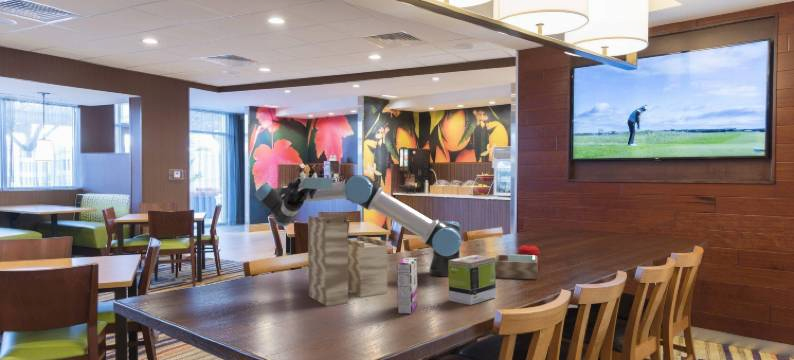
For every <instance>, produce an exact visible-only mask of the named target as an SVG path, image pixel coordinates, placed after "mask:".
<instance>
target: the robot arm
mask: <svg viewBox="0 0 794 360" xmlns="http://www.w3.org/2000/svg"><path fill="white" fill-rule="evenodd" d="M299 177H300V178H299V179H297V180H296V181H294V182H291V181H290V182H289V183H288V184H287V186H285V187H275V188H273V187H272V186H271V185H270V184H269V183H264V184H262V185H261V186H260V187H259V188H258V189H257V190H256V191H255V194H254V195H255V198H256V199H257V200H258V201H259V202H260V203H262V204H263V205H264V207H265V208H267V210H268V211H269V212H270V213H272V215H273V220H274V222H275V223H276V225H277V226H280V227H287V226H289V225H290V224H291V223H292V222H293V221H294V219H295V217H296V215H297V214H298V212H299V210H300V209H301V208H302V207H303V205H304V203H309V202H311V203H312V202H320V201H330V200H332V201H333V200H342V199H345V201H349V202H351V203H352V204H355V205H359V206H360V207H362V208H364V209H365V210H367V211H370V210H374V211H376V212H378V213H379V214H380V215H383V216H385V217H386V218H388V219H389V220H391V221H393V222H394V223H396V224H397V225H399V226H401V227H403V228H405V229H407V230H408V231H410V232H412V233H413V234H414V235H416V236H418V237H420V238H421V239H422V242H423V244H424V245H426V246H427V247H430V248H431V249H433V250H432V253H433V255H432V256H433V257H432V260H431V262H430V266H429V275H431V276H436V277H449V270H448V260H452V259H457V258H461V255H460V251H461V250H460V248H461V246H462V238H461V234H460V231H461V228H460V223H459V222H458V221H442V220H440V219H431V218H429V217H427V216H426V215H425V214H423V213H421V212H419V211H417V210H416V209H414V208H412V207H411V206H409V205H407V204H405V203H403V202H402V201H400V200H398V199H397V198H395V197H394V196H392V195H390V194H389V193H387V192H385V190H384V188H383V186H382V185H380V184H378V183H377V182H375V181H374V180H373V178H372V177H370V176H368V175H365V174H364V175H363V174H356V175H353V176H351V177H350V178H345V179H344V180H343V181H337V182H336V181H335V182H332V189H309V188H298V186H299V187H301V186H302V184H303V183H304V181H305V179H306V174H305V172H302V173H301V174H300V176H299ZM310 178H318V174H317V172H314V173H313V174H312V176H311V177H310Z"/></svg>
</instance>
